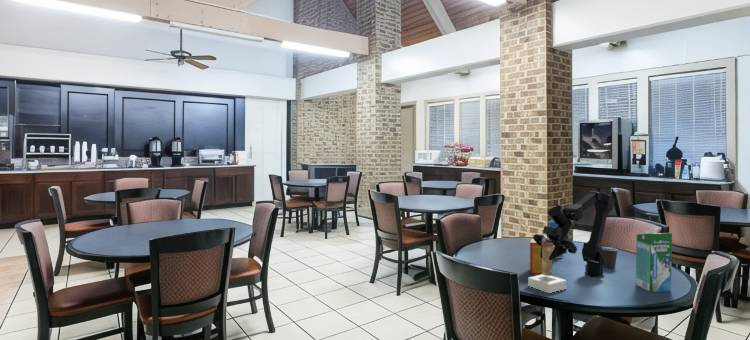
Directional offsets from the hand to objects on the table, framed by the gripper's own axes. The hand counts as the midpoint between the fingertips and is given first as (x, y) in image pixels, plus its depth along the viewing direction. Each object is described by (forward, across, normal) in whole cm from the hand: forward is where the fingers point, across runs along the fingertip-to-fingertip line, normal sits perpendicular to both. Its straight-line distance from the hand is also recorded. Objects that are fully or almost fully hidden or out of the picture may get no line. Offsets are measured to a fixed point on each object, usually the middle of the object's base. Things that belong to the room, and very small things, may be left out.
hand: (545, 258), depth 176 cm
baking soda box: (-2, -17, +21) cm, 28 cm away
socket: (+8, 0, +10) cm, 13 cm away
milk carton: (-18, +24, +37) cm, 48 cm away
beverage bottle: (-25, -31, +44) cm, 60 cm away
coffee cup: (-29, -4, +48) cm, 57 cm away
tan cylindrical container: (+4, 0, +6) cm, 7 cm away
